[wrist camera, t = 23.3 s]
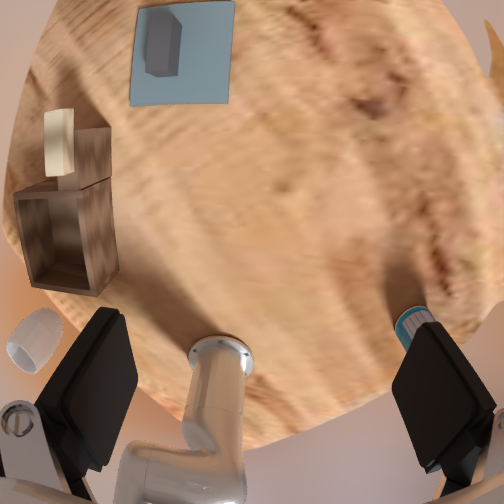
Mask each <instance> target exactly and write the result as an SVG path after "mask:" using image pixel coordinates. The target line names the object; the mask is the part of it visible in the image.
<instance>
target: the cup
mask: <svg viewBox="0 0 504 504" xmlns="http://www.w3.org/2000/svg"><path fill="white" fill-rule="evenodd" d="M63 330H64V329H63V323H62V320H61V319H60V316H59V315H58V314H57V313H56V312H55V311H53V310H51V309H49V308H42V309H40V310H37V311H35V312H33V313H32V314H30V315H29V316H28V317H26V318H25V319H23V320H22V322H21V323H20V324H19V325H18V327H17V328H16V329H15V330H14V332H13V333H12V335H11V337H10V338H9V340H8V342H7V344H6V349H7V352H8V354H9V356H10V358H11V360H12V361H13V362H14V363H15V364H16V365H17V366H18V367H19V368H20V369H21V370H23V371H24V372H26V373H29V374H35V373H37V372H38V371H39V370H40V369H41V368H42V367H43V366H44V365H45V364H46V363H47V361H48V360H49V359H50V357H51V356H52V355H53V354H54V352H55V350H56V348H57V346H58V344H59V342H60V340H61V336H62V333H63Z"/></svg>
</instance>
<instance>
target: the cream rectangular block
mask: <svg viewBox="0 0 504 504" xmlns="http://www.w3.org/2000/svg"><path fill="white" fill-rule="evenodd" d="M44 152H45V172H46V177H50V176H64V175H67V174H69V173H72V172H75V170H74V109H58V110H53V111H49V112H44Z"/></svg>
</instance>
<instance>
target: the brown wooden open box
mask: <svg viewBox="0 0 504 504" xmlns="http://www.w3.org/2000/svg"><path fill="white" fill-rule="evenodd" d="M74 170H75V172H72V173H69V174H67V175H64V176H57V179H58V180H51V181H44V182H41V183H38V184H36V185H33V186H31V187H28V188H26V189H23V190H21V191H18V192H16V193H13V196H14V204H15V211H16V218H17V224H18V230H19V235H20V240H21V245H22V250H23V255H24V259H25V263H26V267H27V271H28V275H29V279H30V283H31V286H32V287H35V288H40V289H46V290H52V291H59V292H65V293H72V294H78V295H85V296H93V297H98V296H99V294H100V293H101V292H102V291H103V289H104V288H105V287H106V286H107V285H108V283H109V282H110V281H111V280H112V278H113V277H114V276H115V275H116V274H117V272H118V271H119V264H118V257H117V248H116V239H115V230H114V219H113V206H112V191H111V178H108V177H110V176H112V164H111V127H105V128H91V129H80V130H74Z"/></svg>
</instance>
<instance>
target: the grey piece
mask: <svg viewBox="0 0 504 504" xmlns="http://www.w3.org/2000/svg"><path fill="white" fill-rule="evenodd" d="M234 14H235V1H211V2H193V3H180V4H171V5H162V6H155V7H148V8H142V9H139V13H138V20H137V27H136V35H135V43H134V53H133V63H132V75H131V90H130V107H137V106H150V105H168V104H228V97H229V81H230V66H231V52H232V38H233V26H234Z"/></svg>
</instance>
